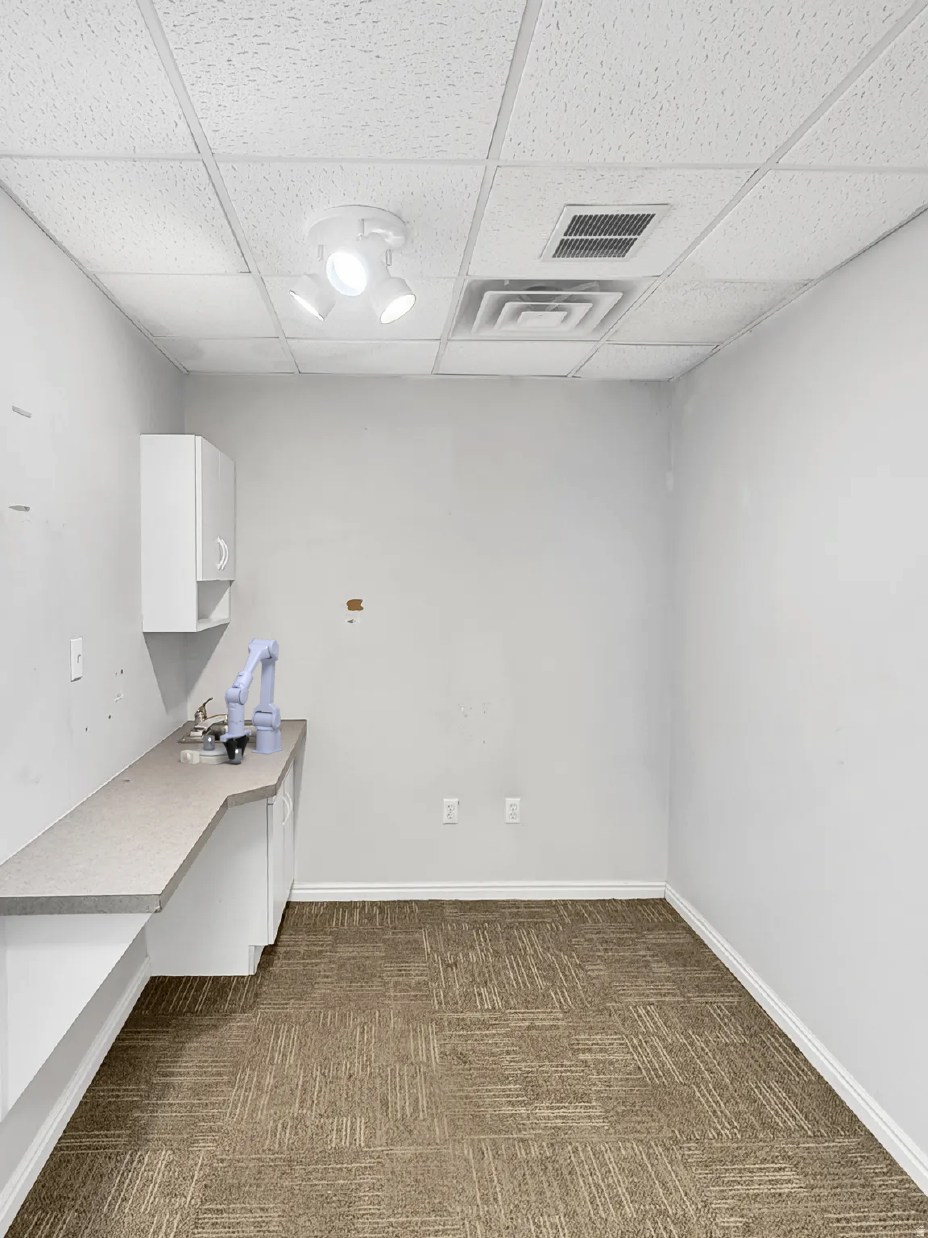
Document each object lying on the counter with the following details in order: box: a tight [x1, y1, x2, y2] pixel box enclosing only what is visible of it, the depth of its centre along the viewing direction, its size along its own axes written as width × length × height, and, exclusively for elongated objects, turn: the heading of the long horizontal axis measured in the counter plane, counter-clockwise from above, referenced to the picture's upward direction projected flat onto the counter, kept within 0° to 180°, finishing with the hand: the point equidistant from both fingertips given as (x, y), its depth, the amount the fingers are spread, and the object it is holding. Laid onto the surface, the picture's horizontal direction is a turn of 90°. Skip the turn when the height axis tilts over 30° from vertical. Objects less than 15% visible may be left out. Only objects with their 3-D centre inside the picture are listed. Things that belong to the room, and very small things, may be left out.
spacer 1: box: [202, 734, 216, 751], centre depth 312 cm, size 4×4×5 cm
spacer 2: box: [229, 747, 243, 764], centre depth 303 cm, size 4×4×5 cm
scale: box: [180, 745, 246, 765], centre depth 309 cm, size 20×16×4 cm
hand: (235, 758), depth 303 cm, fingers closed on spacer 2, 4 cm apart
